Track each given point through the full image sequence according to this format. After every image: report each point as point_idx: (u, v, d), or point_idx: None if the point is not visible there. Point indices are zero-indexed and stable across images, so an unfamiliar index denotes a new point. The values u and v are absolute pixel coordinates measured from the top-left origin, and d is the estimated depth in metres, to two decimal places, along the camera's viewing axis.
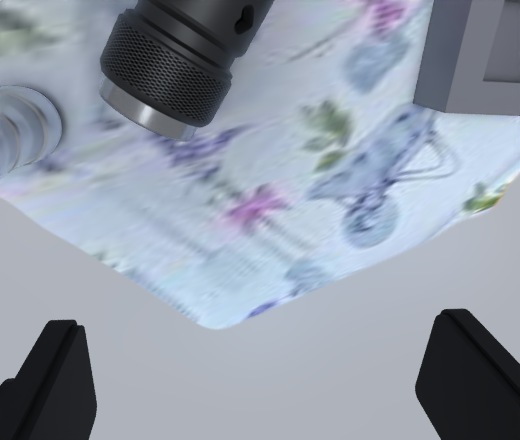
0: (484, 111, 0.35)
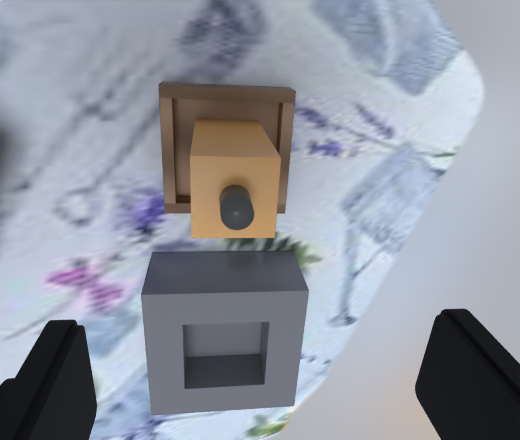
0: (197, 410, 0.33)
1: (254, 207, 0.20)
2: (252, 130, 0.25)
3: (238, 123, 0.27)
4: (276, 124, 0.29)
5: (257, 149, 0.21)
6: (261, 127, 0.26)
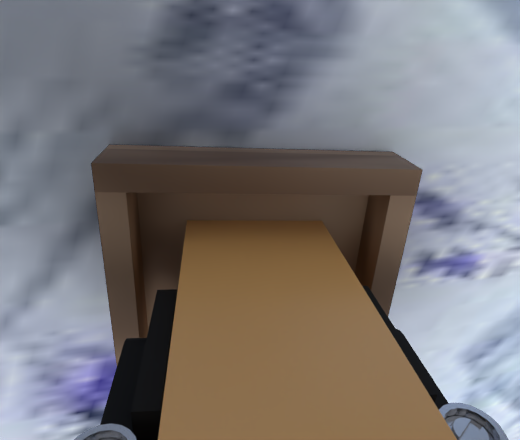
0: None
1: None
2: (329, 281, 0.10)
3: (284, 240, 0.12)
4: (359, 228, 0.13)
5: None
6: (344, 260, 0.11)
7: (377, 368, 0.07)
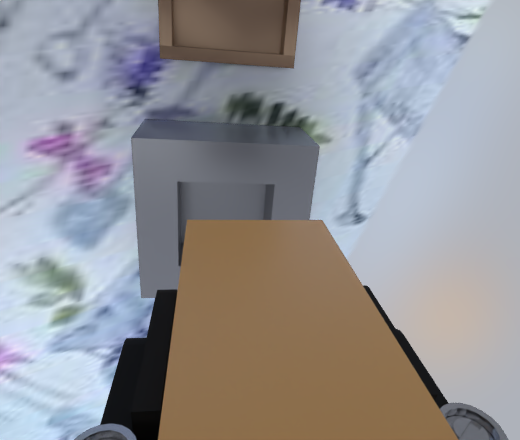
0: None
1: None
2: (329, 280, 0.10)
3: (285, 240, 0.12)
4: None
5: None
6: (344, 259, 0.11)
7: (378, 367, 0.07)
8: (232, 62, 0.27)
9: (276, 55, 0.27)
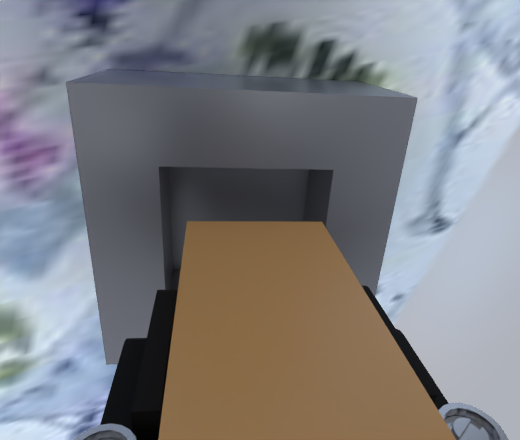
0: None
1: None
2: (329, 282, 0.10)
3: (284, 241, 0.12)
4: None
5: None
6: (344, 261, 0.11)
7: (377, 370, 0.07)
8: None
9: None
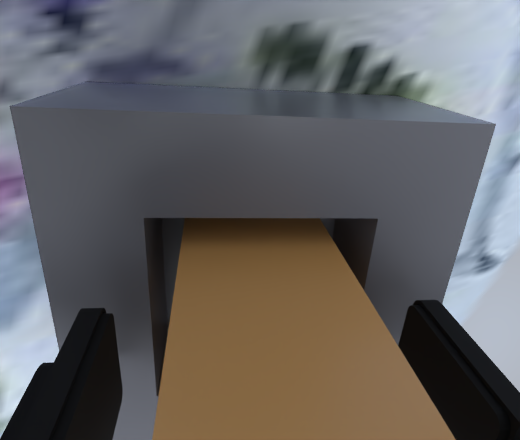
0: None
1: None
2: (312, 250, 0.11)
3: (274, 219, 0.13)
4: None
5: (364, 384, 0.07)
6: (327, 233, 0.12)
7: (348, 314, 0.09)
8: None
9: None
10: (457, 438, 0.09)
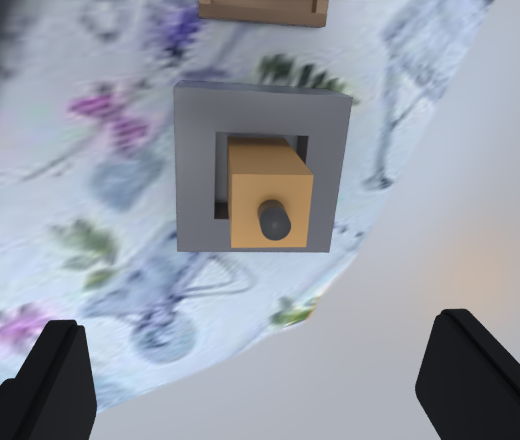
0: (226, 248, 0.30)
1: None
2: (281, 148, 0.27)
3: (267, 141, 0.29)
4: None
5: (290, 167, 0.23)
6: (289, 145, 0.28)
7: (290, 159, 0.25)
8: (267, 20, 0.28)
9: (309, 13, 0.28)
10: None
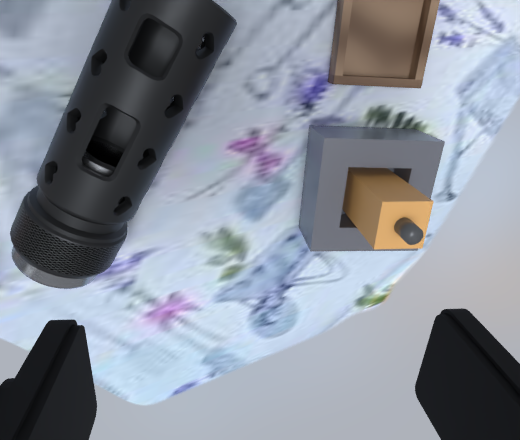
0: (344, 248, 0.41)
1: None
2: (392, 177, 0.38)
3: (377, 170, 0.40)
4: (419, 15, 0.38)
5: (413, 194, 0.34)
6: (395, 174, 0.39)
7: (407, 187, 0.36)
8: (380, 85, 0.39)
9: (410, 79, 0.39)
10: None
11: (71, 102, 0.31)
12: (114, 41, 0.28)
